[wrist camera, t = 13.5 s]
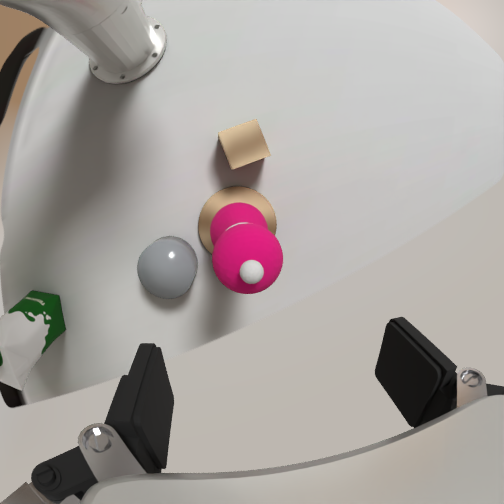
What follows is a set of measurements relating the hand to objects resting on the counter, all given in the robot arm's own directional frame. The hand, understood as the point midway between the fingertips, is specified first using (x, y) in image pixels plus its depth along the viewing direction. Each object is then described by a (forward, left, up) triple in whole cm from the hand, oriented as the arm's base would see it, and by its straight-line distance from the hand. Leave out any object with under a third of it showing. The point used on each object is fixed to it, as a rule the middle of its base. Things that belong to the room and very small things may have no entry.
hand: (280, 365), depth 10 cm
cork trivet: (0, 0, -31) cm, 31 cm away
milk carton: (+13, -36, -31) cm, 49 cm away
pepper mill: (0, 0, -30) cm, 30 cm away
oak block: (-11, +1, -31) cm, 33 cm away
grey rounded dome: (+5, -10, -31) cm, 33 cm away
